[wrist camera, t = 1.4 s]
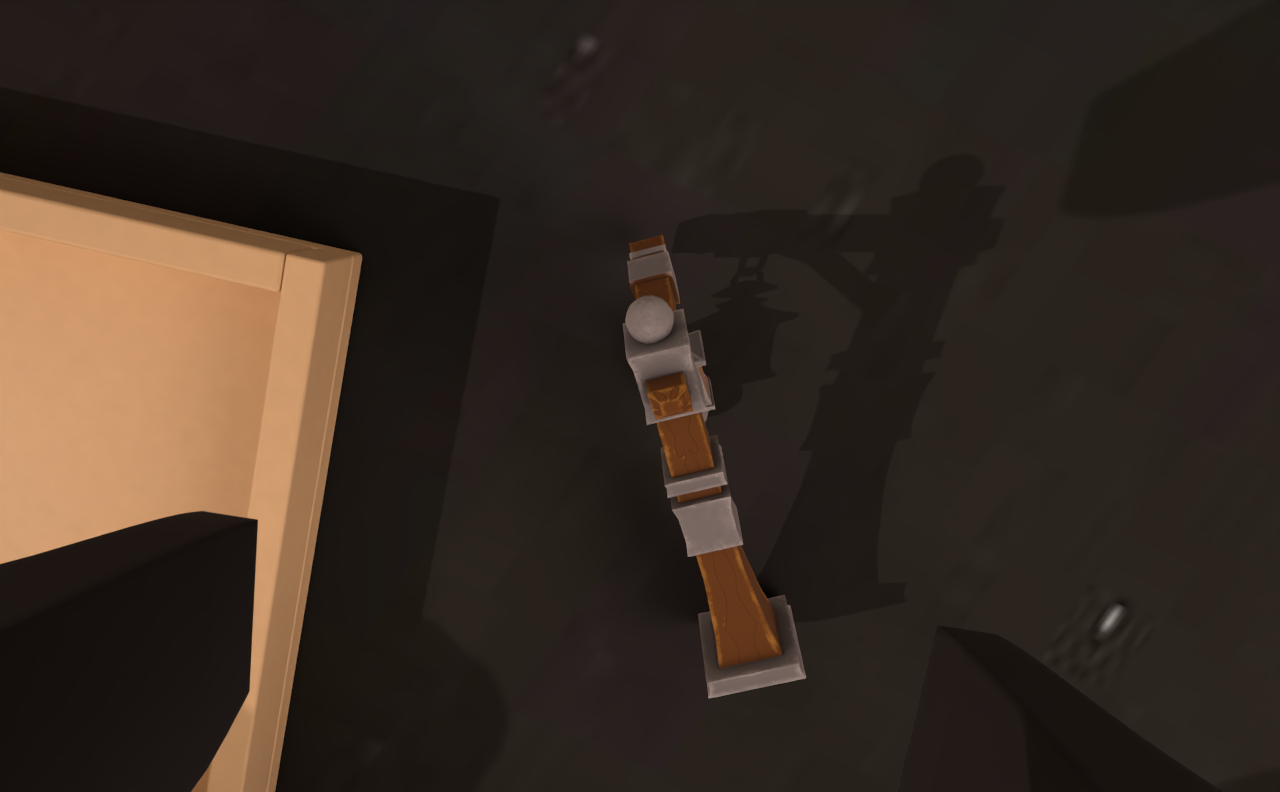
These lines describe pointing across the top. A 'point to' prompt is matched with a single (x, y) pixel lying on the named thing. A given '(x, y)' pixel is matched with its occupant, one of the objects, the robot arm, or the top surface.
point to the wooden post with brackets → (702, 486)
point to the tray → (173, 402)
